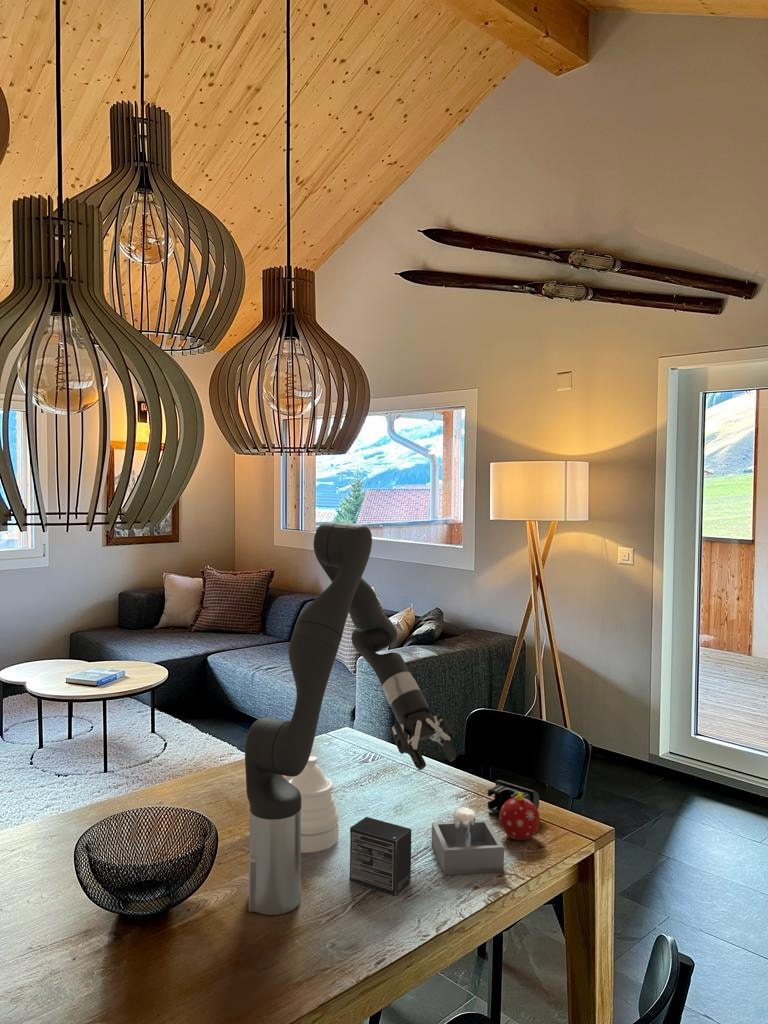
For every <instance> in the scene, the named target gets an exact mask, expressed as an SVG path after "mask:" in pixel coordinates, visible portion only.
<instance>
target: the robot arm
mask: <svg viewBox="0 0 768 1024" xmlns="http://www.w3.org/2000/svg"><path fill="white" fill-rule="evenodd" d="M372 545H373V535H372V532H371V529H370V528H369V527H368V526H367V525H364V524H359V523H349V522H337V521H327V522H323V523H321V524H320V525H319V526H318V528H317V529H316V531H315V534H314V536H313V551H314V555H315V557H316V560H317V561H318V564H319V565H320V567H321V568H322V570H324V572H325V573H326V575H327V577H328V578H329V580H330V581H331V583H330V584H329V586H328V587H327V588H326V589H325V590H324V591H322V592H321V594H319V595H318V596H317V597H316V598H315V599H314V600H312V601H311V602H310V604H308V605H307V606H306V607H305V608H304V609H303V611H302V612H301V613H300V615H299V616H298V619H297V621H296V623H295V627H294V629H293V631H292V635H291V638H290V642H289V645H288V660H289V665H290V667H291V672H292V676H293V680H294V684H295V689H296V690H295V691H296V701H295V706H294V709H293V714H292V717H291V719H290V721H289V720H283V719H277V718H270V717H261V718H258V719H257V720H255V721H254V722H253V723H252V724H251V726H250V728H249V729H248V731H247V732H248V733H247V735H246V738H245V739H246V740H245V746H244V748H245V749H244V765H245V766H244V767H245V785H246V786H245V787H246V797H247V799H248V802H249V854H248V855H249V856H248V912H250V913H251V912H256V913H258V914H261V915H266V916H279V915H283V914H287V913H289V912H291V911H294V909H296V908H297V907H298V906H299V905H300V903H301V892H302V889H301V888H302V886H301V885H302V884H301V881H302V880H301V879H302V877H301V876H302V868H301V867H302V852H301V793H300V791H299V790H298V789H297V788H296V787H295V786H294V785H292V784H291V783H289V782H288V781H289V780H287V779H286V778H285V777H291V778H293V777H295V776H298V775H299V774H300V773H301V772H302V771H303V770H304V768H305V766H306V764H307V762H308V760H309V757H310V756H311V754H312V750H313V746H314V741H315V737H316V732H317V728H318V724H319V723H318V722H319V718H320V712H321V709H322V704H323V699H324V696H325V693H326V689H327V685H328V682H329V679H330V675H331V673H332V669H333V666H334V662H335V659H336V657H337V654H338V652H339V648H340V644H341V642H342V637H343V634H344V629H345V626H346V622H347V619H348V616H350V618H351V621H352V623H353V625H354V626H355V627H356V628H355V629H354V630H353V631H352V634H351V642H352V645H353V648H354V649H355V650H356V652H358V654H359V655H360V656H362V658H363V659H364V660H365V661H366V662H367V663H368V665H369V666H370V667H371V668H372V671H374V674H375V675H376V676H377V679H378V681H379V682H380V685H381V687H382V689H383V692H384V695H385V698H386V700H387V702H388V704H389V706H390V709H391V710H392V712H393V714H394V716H395V719H396V720H397V722H396V723H395V724H394V725H393V726H392V727H391V728H390V730H389V731H390V733H391V736H392V738H393V741H394V743H395V745H396V747H397V750H398V752H399V754H400V755H403V754H408V755H409V757H410V758H411V760H412V762H413V765H414V766H415V768H416V769H417V770H418V771H421V770H424V769H425V768H426V767H427V763H426V761H425V759H424V757H423V755H422V753H421V751H420V749H419V748H418V745H419V742H421V741H423V740H429V739H430V740H431V741H433V742H436V743H438V744H439V745H440V746H441V748H442V750H443V753H444V754H445V757H446V759H447V760H448V762H453V761H454V760H456V758H457V752H456V750H455V748H454V746H453V744H452V741H451V740H452V739H453V738H455V736H456V732H455V730H453V728H452V725H451V724H450V722H449V721H448V719H447V718H446V715H445V714H444V713H443V712H440V713H439V714H438V715H434V716H433V715H432V713H430V708H429V704H428V703H427V700H426V698H425V697H424V694H423V693H422V690H421V689H420V687H419V685H418V683H417V681H416V679H415V678H414V677H413V675H412V673H411V672H410V670H409V668H408V666H407V665H406V662H405V660H404V658H403V657H402V655H401V654H400V653H399V652H395V651H393V652H389V653H388V652H387V653H382V654H381V653H380V654H379V653H378V652H381V651H382V650H385V649H387V648H389V647H390V646H393V645H394V644H395V643H396V641H397V639H398V631H397V627H396V626H395V624H394V623H393V622H392V621H391V619H390V618H389V617H388V616H387V615H386V614H384V612H383V610H382V609H381V605H380V602H379V600H378V596H377V595H376V592H375V591H374V589H373V588H372V587H371V585H370V584H369V583H368V582H367V581H366V580H365V579H364V578H363V575H364V572H365V570H366V567H367V566H368V562H369V559H370V555H371V553H372V552H371V551H372V547H373V546H372ZM405 734H406V735H407V737H406V735H405Z"/></svg>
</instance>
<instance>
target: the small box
mask: <svg viewBox="0 0 768 1024" xmlns="http://www.w3.org/2000/svg"><path fill="white" fill-rule="evenodd" d="M349 833H350V834H349V837H350V838H349V839H350V840H349V841H350V842H349V843H350V844H349V846H350V847H349V879H348V880H349V881H350V882H352V883H356V884H359V885H361V886H365V887H367V888H372V889H375V890H376V891H377V890H378V891H381V892H383V893H387V894H390V895H392V896H397V895H399V893H400V892H401V891H402V890H403V889H404V888H405V887H406V886H408V885H409V884H410V883H411V882H412V878H411V877H412V828H408V827H404V826H401V825H397V824H394V823H391V822H386V821H385V820H384V821H383V820H379V819H376V818H372V817H369V816H366V817H364V818H362V819H361V820H359V821H358V822H356V823H355V824H353V825H352V826H350V828H349Z"/></svg>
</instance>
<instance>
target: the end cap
mask: <svg viewBox="0 0 768 1024" xmlns="http://www.w3.org/2000/svg"><path fill="white" fill-rule="evenodd" d="M518 792H521V793H523V798H525V799H528V800H529V801H531V802H532V803H533V804H534V805H535V807H536V808H537V810H538V811H539V807H540V796H539V793H538V792H537V791H536V790H533V789H530V788H527V787H523V786H520V785H517V784H514V783H510V782H507V781H504V780H501V779H497V780H495V785H494V786H493V787H491V788H489V789H488V790H487V797H489V798H490V797H491V796H493V798H492V799H490V800H488V801H487V809H488V811H487V812H488V815H489V816H490V817H495V818H496V819H499V814H500V810H501V808H502V806H503V805H504V803H505V802H506V801H508V800H509V799H511V798H515V797H517V793H518ZM519 794H520V793H519ZM520 795H521V794H520Z"/></svg>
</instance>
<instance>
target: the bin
mask: <svg viewBox="0 0 768 1024" xmlns="http://www.w3.org/2000/svg"><path fill="white" fill-rule="evenodd" d="M431 849H432V850H433V854H434V855H435V857H436V860H437V862H438V864H439V867H440V869H441V872H442V875H443V876H456V875H457V876H458V875H462V876H463V875H477V874H478V875H479V874H491V873H492V874H493V873H496V874H497V873H504V871H505V870H504V868H505V846H504V845H503V843H502V841H501V840H500V838H499V836H498V835H497V833H496V831H495V829H494V828H493V826H492V825H491V823H490V821H489V820H488V819H479V820H476V819H475V825H474V835H473V846H470V847H455V834H454V821H437V822H435V821H434V822H431Z"/></svg>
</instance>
